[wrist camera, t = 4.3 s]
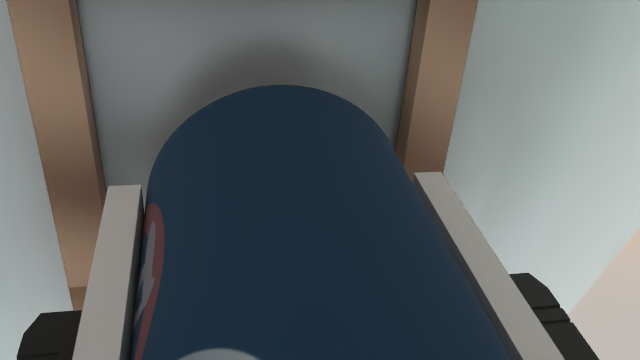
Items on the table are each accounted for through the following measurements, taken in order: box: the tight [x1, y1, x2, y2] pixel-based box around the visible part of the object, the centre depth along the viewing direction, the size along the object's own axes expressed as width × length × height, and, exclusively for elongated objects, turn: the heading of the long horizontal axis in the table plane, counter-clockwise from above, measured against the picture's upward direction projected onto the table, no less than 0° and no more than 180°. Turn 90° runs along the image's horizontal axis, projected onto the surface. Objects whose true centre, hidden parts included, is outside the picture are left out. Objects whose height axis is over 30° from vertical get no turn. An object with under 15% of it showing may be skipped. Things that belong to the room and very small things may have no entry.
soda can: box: [129, 85, 512, 360], centre depth 12 cm, size 7×7×12 cm
